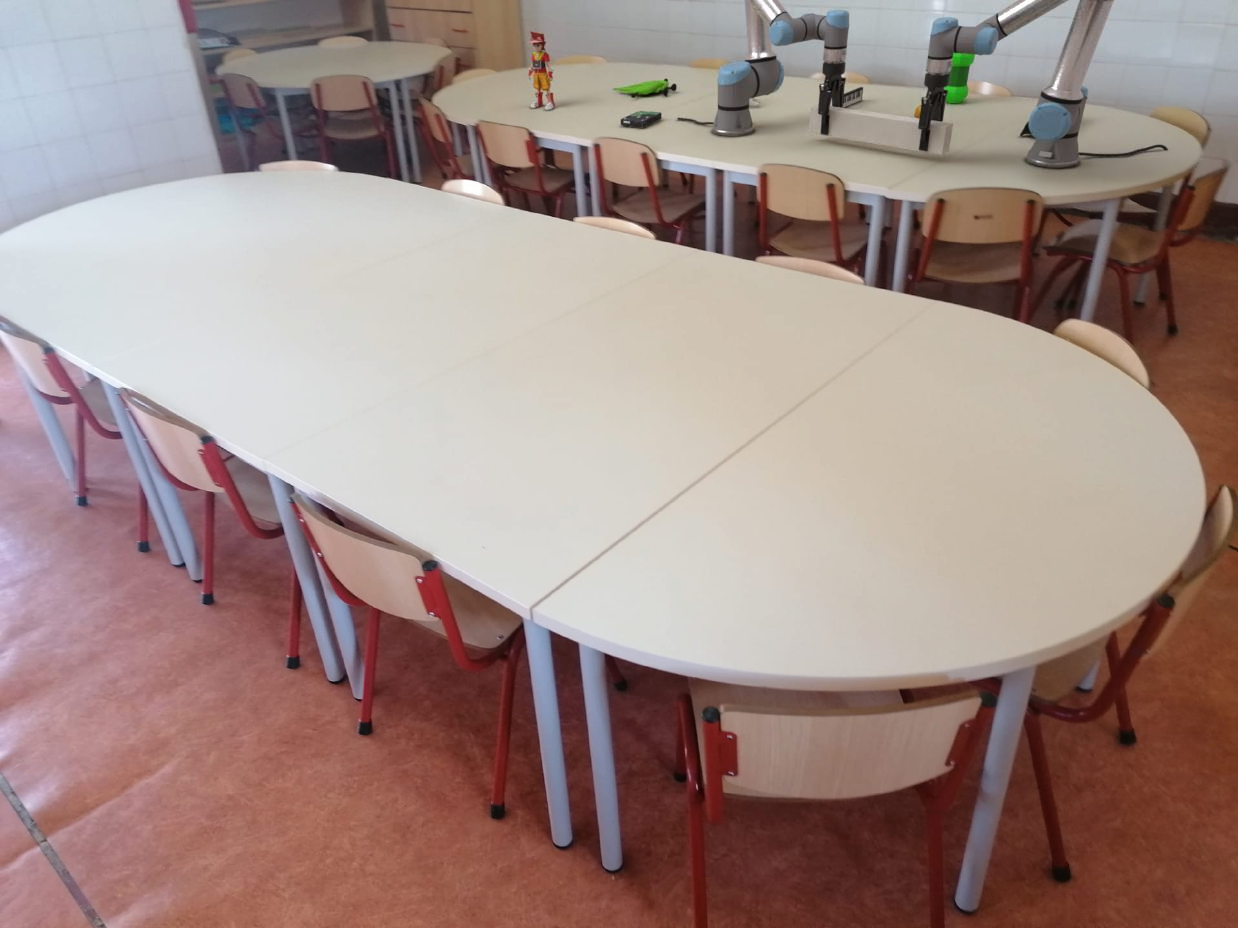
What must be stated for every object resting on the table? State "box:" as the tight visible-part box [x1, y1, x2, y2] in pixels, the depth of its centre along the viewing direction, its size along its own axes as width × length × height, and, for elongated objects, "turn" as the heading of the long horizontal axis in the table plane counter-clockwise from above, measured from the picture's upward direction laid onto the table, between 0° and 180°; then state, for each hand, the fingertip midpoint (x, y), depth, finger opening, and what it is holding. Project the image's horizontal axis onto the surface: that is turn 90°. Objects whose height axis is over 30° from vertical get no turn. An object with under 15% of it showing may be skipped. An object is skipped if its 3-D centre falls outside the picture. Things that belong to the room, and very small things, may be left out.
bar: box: [808, 103, 954, 156], centre depth 303 cm, size 50×5×9 cm, turn 47°
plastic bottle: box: [944, 53, 976, 104], centre depth 348 cm, size 10×10×25 cm
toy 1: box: [527, 31, 556, 111], centre depth 374 cm, size 12×9×30 cm
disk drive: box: [620, 110, 663, 129], centre depth 352 cm, size 10×3×15 cm
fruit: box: [913, 104, 932, 120], centre depth 329 cm, size 8×8×8 cm
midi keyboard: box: [842, 86, 864, 108], centre depth 358 cm, size 18×1×5 cm, turn 138°
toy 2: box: [612, 78, 677, 99], centre depth 396 cm, size 28×5×30 cm
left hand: (828, 132), depth 316 cm, fingers closed on bar, 5 cm apart
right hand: (927, 148), depth 294 cm, fingers closed on bar, 5 cm apart
